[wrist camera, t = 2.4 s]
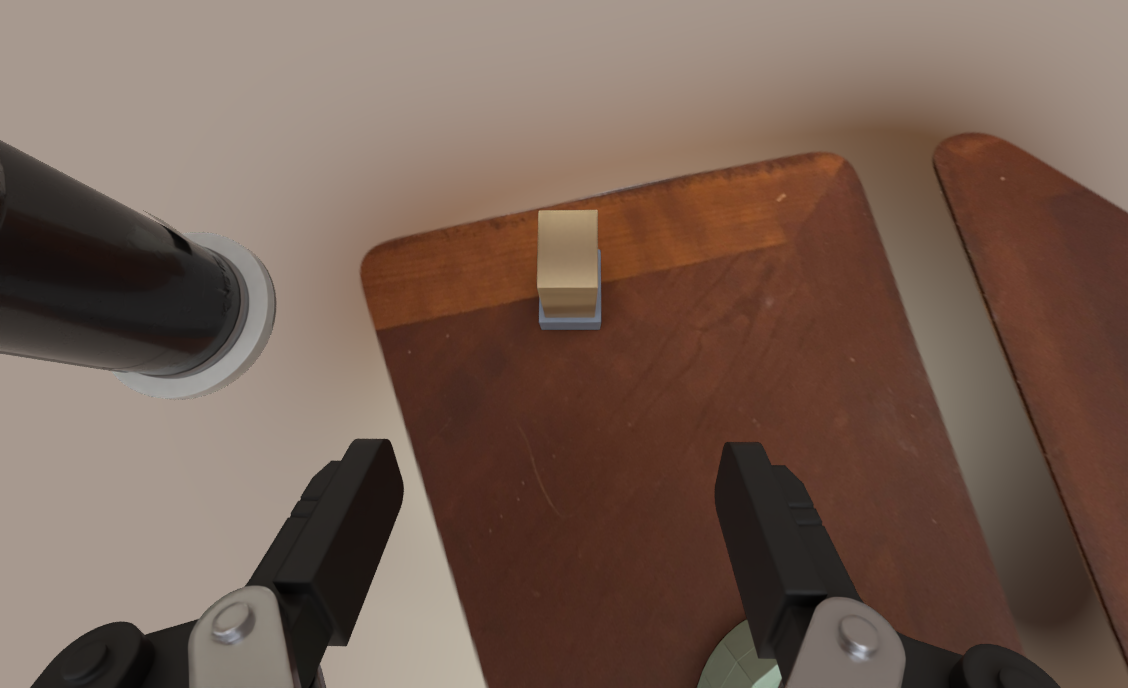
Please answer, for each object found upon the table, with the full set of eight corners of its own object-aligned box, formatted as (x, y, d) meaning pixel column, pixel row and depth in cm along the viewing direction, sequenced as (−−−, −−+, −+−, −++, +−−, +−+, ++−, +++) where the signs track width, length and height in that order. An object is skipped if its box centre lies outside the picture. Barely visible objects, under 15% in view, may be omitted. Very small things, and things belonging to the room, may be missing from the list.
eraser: (599, 329, 32) (606, 293, 24) (541, 329, 32) (528, 293, 25) (599, 260, 33) (605, 204, 25) (542, 260, 33) (530, 205, 26)
